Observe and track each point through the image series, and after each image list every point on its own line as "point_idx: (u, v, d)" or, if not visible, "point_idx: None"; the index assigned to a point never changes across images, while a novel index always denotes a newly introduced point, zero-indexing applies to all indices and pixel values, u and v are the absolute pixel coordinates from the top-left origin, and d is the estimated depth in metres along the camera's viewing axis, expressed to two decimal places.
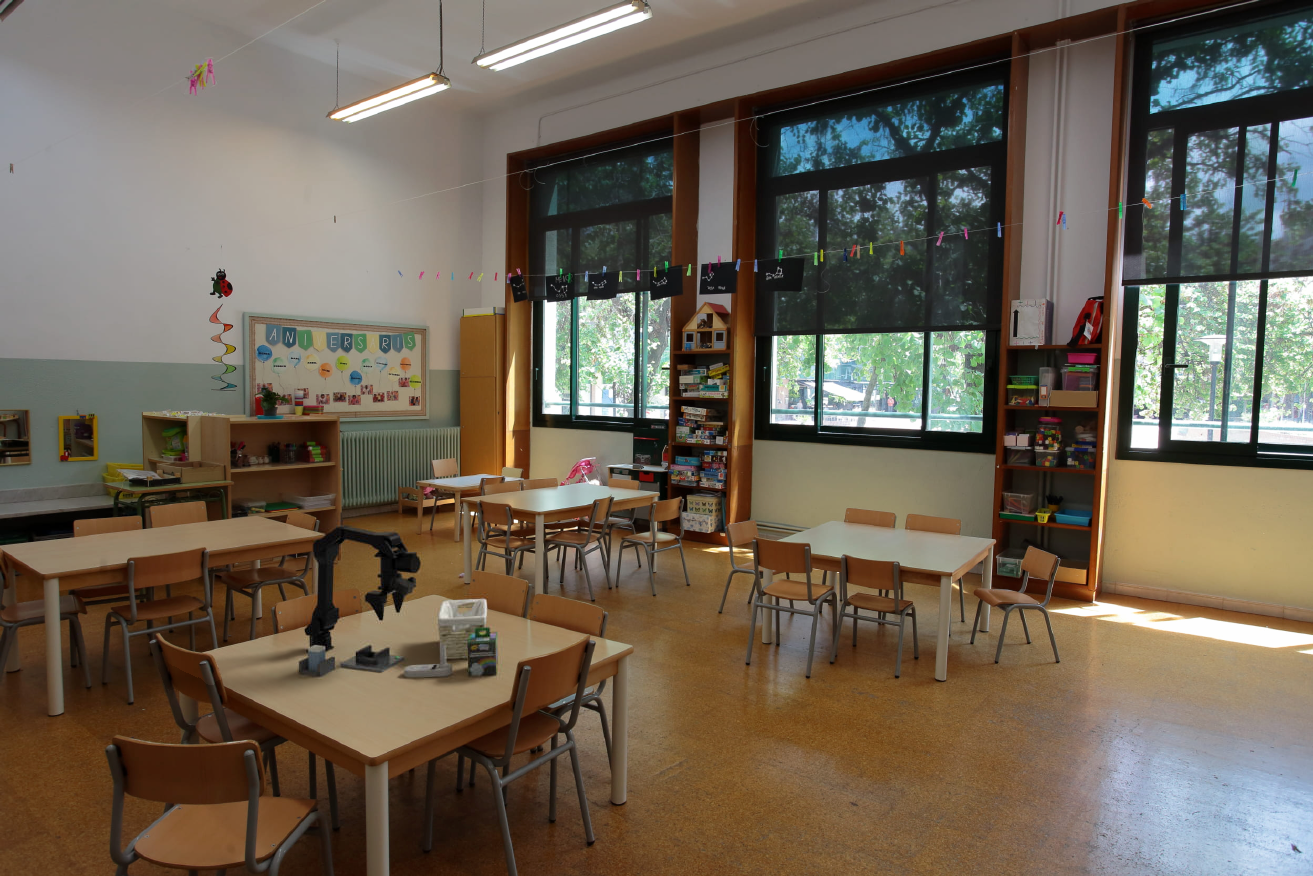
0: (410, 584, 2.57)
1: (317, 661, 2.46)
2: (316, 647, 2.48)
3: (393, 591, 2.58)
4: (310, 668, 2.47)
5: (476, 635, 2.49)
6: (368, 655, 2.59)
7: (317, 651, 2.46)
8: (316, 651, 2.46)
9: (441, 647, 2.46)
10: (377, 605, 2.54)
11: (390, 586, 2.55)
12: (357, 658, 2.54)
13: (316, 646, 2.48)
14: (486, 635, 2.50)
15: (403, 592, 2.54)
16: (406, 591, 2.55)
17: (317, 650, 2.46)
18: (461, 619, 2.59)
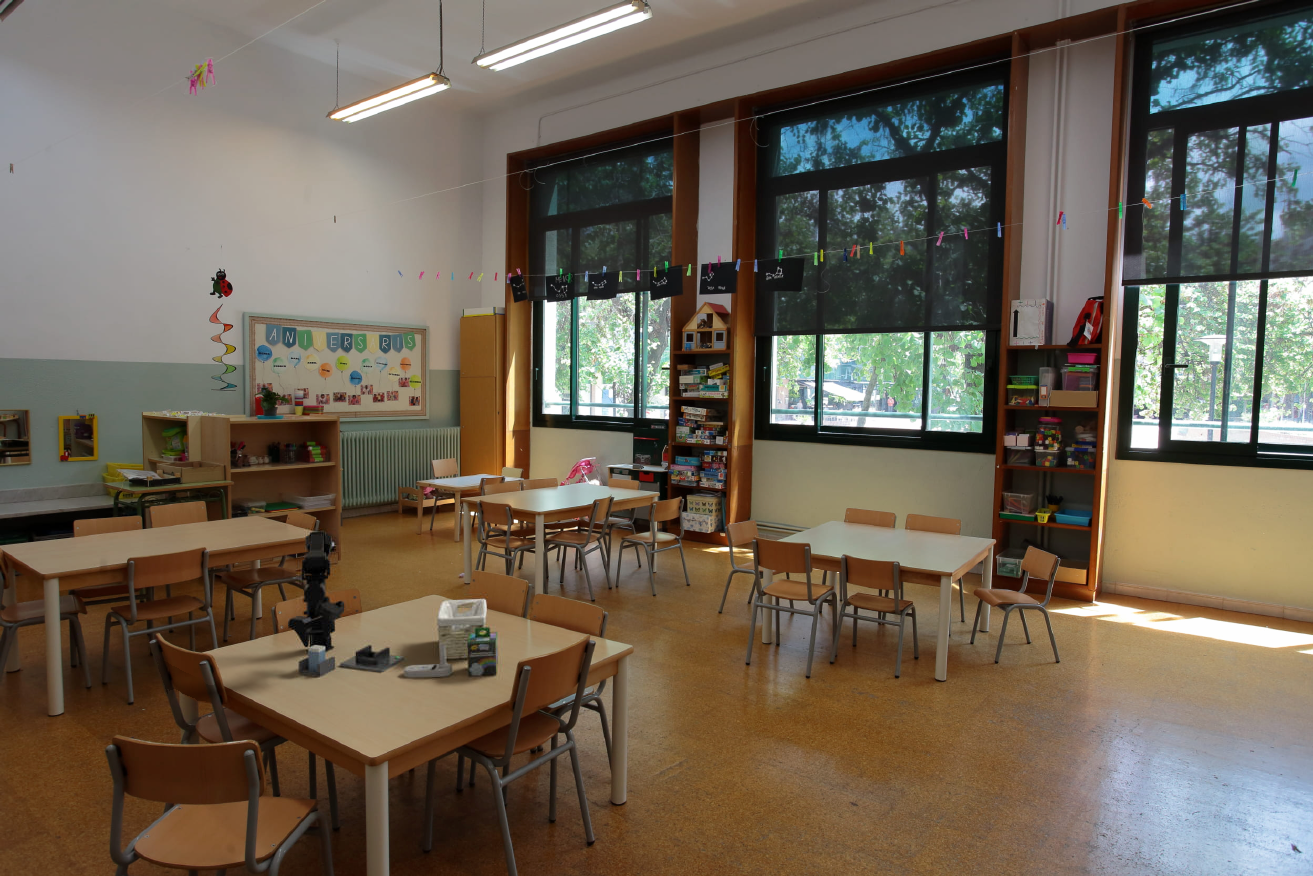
0: (337, 609, 2.45)
1: (317, 661, 2.46)
2: (316, 647, 2.48)
3: (320, 616, 2.46)
4: (310, 668, 2.47)
5: (476, 635, 2.49)
6: (368, 655, 2.59)
7: (317, 651, 2.46)
8: (316, 651, 2.46)
9: (441, 647, 2.46)
10: (302, 631, 2.42)
11: (316, 611, 2.44)
12: (357, 658, 2.54)
13: (316, 646, 2.48)
14: (486, 635, 2.50)
15: (329, 618, 2.43)
16: (332, 616, 2.43)
17: (317, 650, 2.46)
18: (460, 619, 2.59)
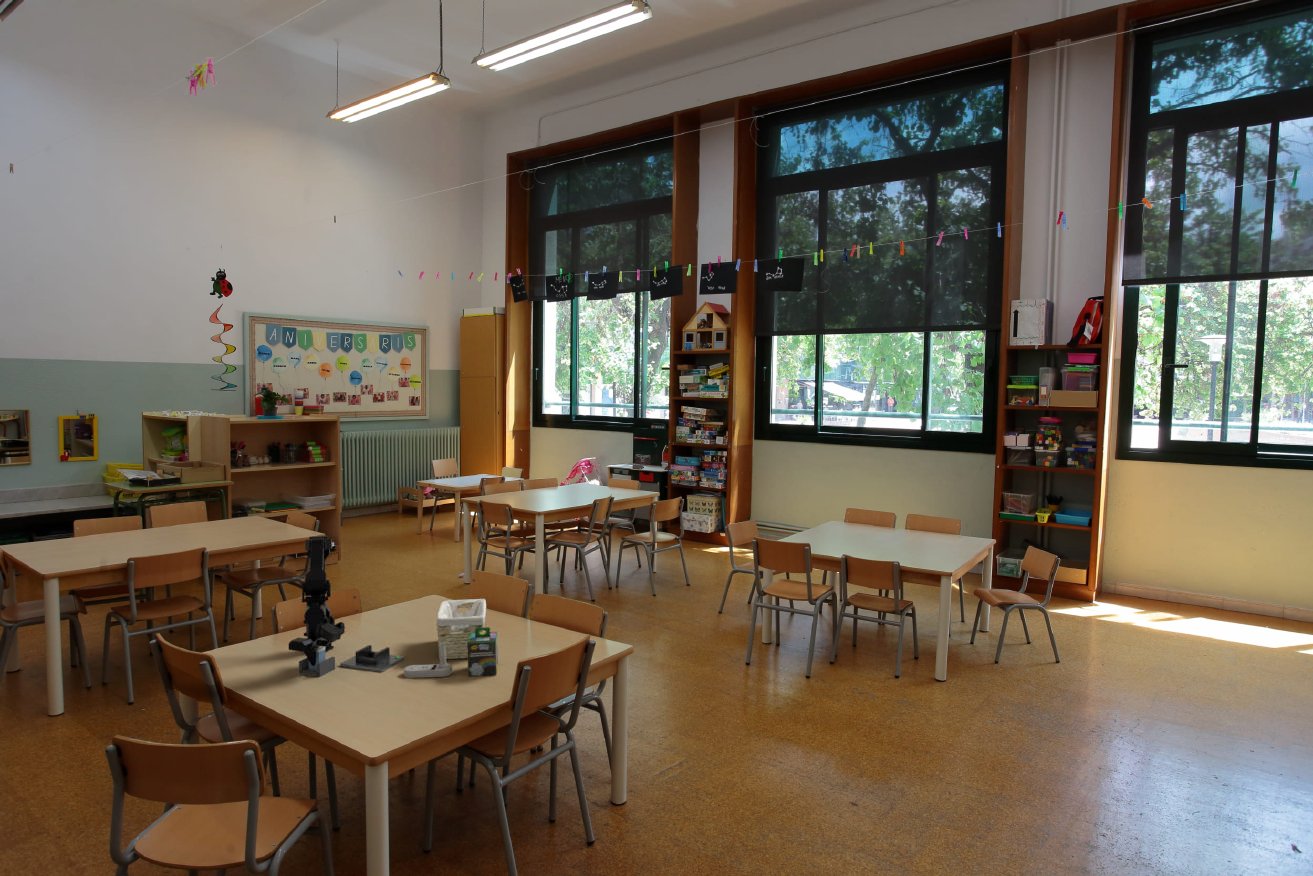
0: (337, 630, 2.46)
1: (317, 661, 2.46)
2: None
3: None
4: (310, 668, 2.47)
5: (476, 635, 2.49)
6: (368, 655, 2.59)
7: (317, 651, 2.46)
8: (316, 651, 2.46)
9: (441, 647, 2.46)
10: (309, 650, 2.45)
11: (316, 633, 2.44)
12: (357, 658, 2.54)
13: None
14: (486, 635, 2.50)
15: (330, 639, 2.43)
16: (333, 638, 2.44)
17: (317, 650, 2.46)
18: (459, 619, 2.59)
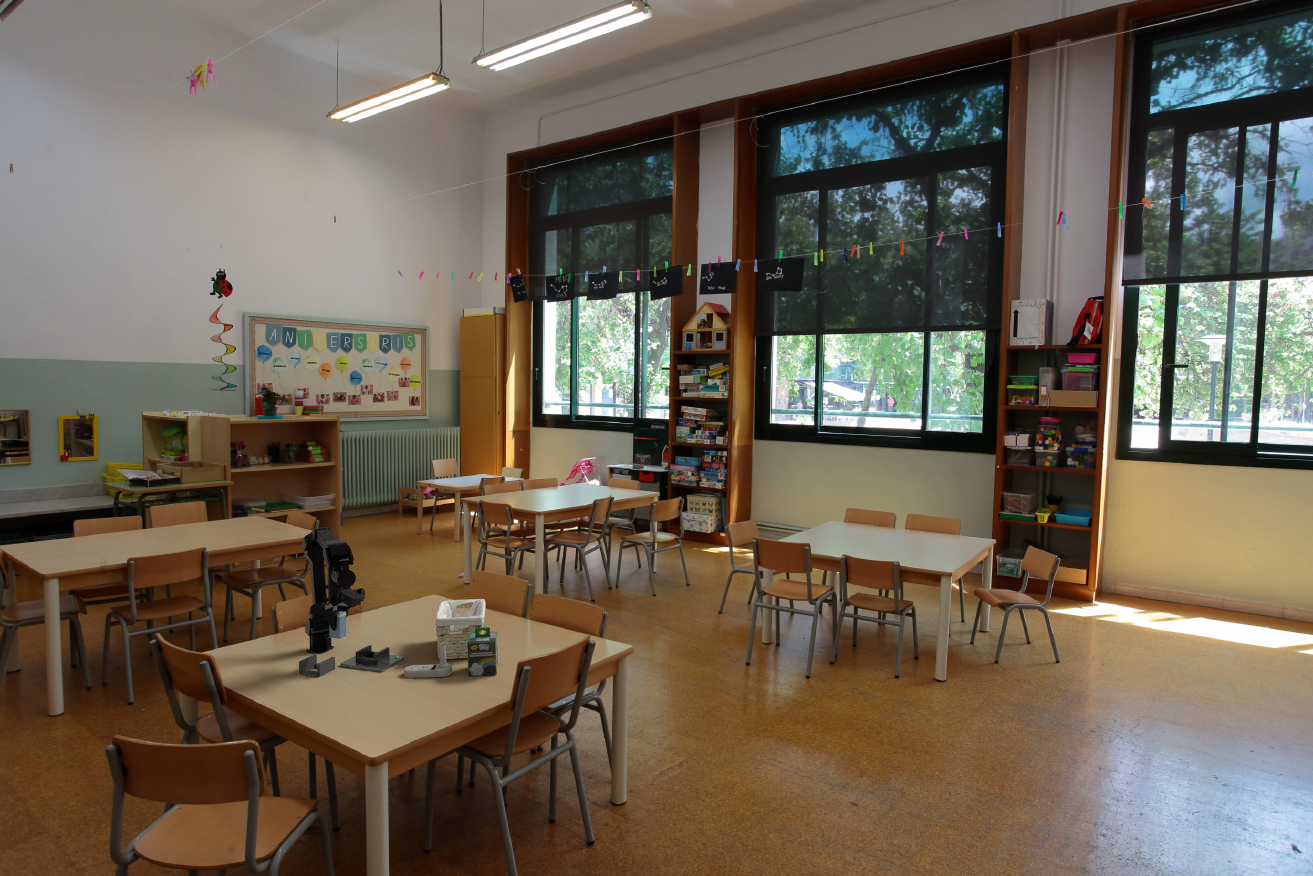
0: (358, 596, 2.48)
1: (338, 626, 2.48)
2: None
3: None
4: (331, 633, 2.49)
5: (476, 635, 2.49)
6: (368, 655, 2.59)
7: (338, 616, 2.48)
8: (337, 616, 2.48)
9: (441, 647, 2.46)
10: (330, 615, 2.48)
11: (337, 598, 2.46)
12: (357, 658, 2.54)
13: None
14: (486, 635, 2.50)
15: (350, 604, 2.45)
16: (353, 603, 2.46)
17: (338, 615, 2.48)
18: (458, 619, 2.59)
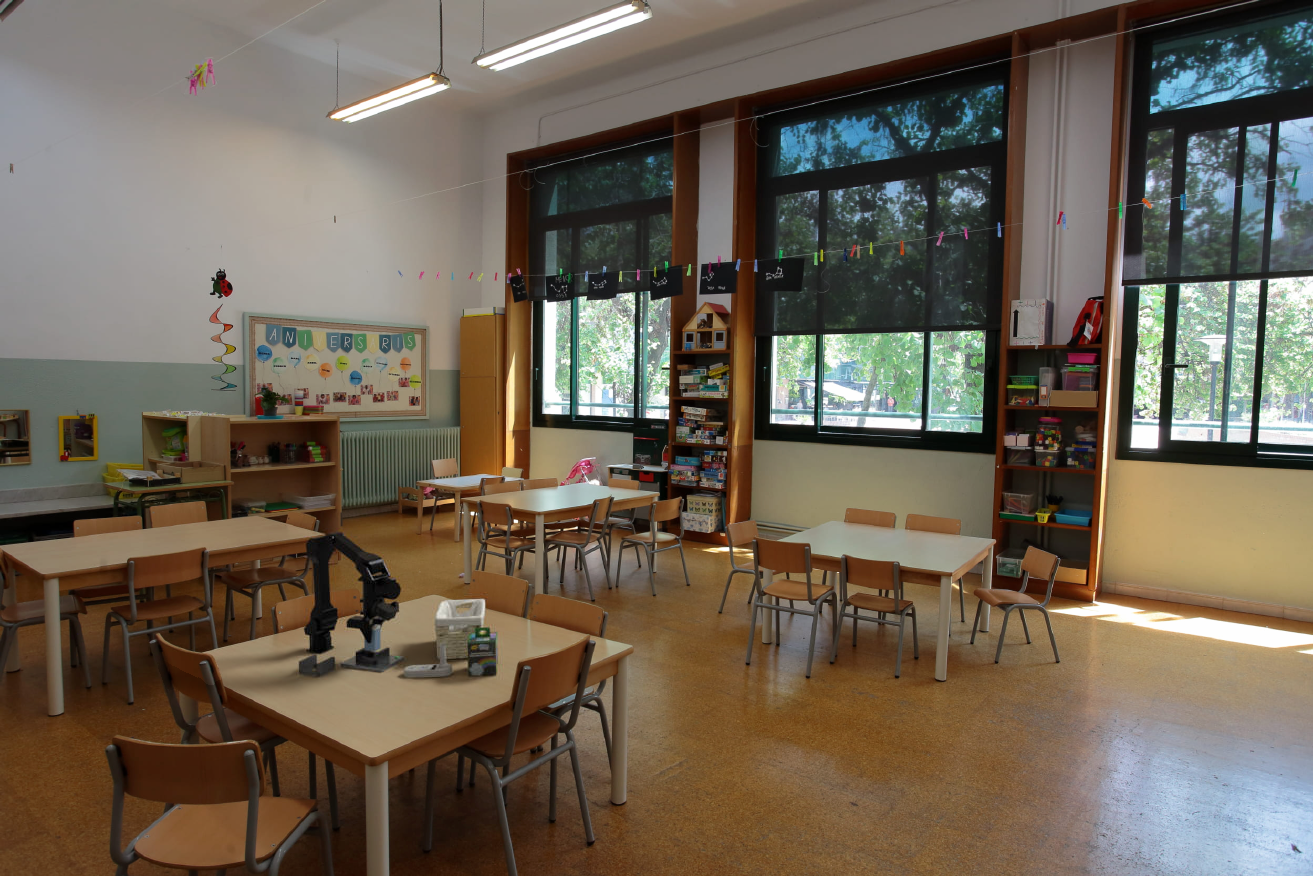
0: (393, 609, 2.54)
1: (373, 639, 2.54)
2: None
3: None
4: (366, 646, 2.55)
5: (476, 635, 2.49)
6: (368, 655, 2.59)
7: (373, 629, 2.54)
8: (372, 629, 2.54)
9: (441, 647, 2.46)
10: (365, 628, 2.53)
11: (372, 611, 2.52)
12: (357, 658, 2.54)
13: None
14: (486, 635, 2.50)
15: (386, 618, 2.51)
16: (389, 616, 2.51)
17: (373, 628, 2.54)
18: (458, 619, 2.59)
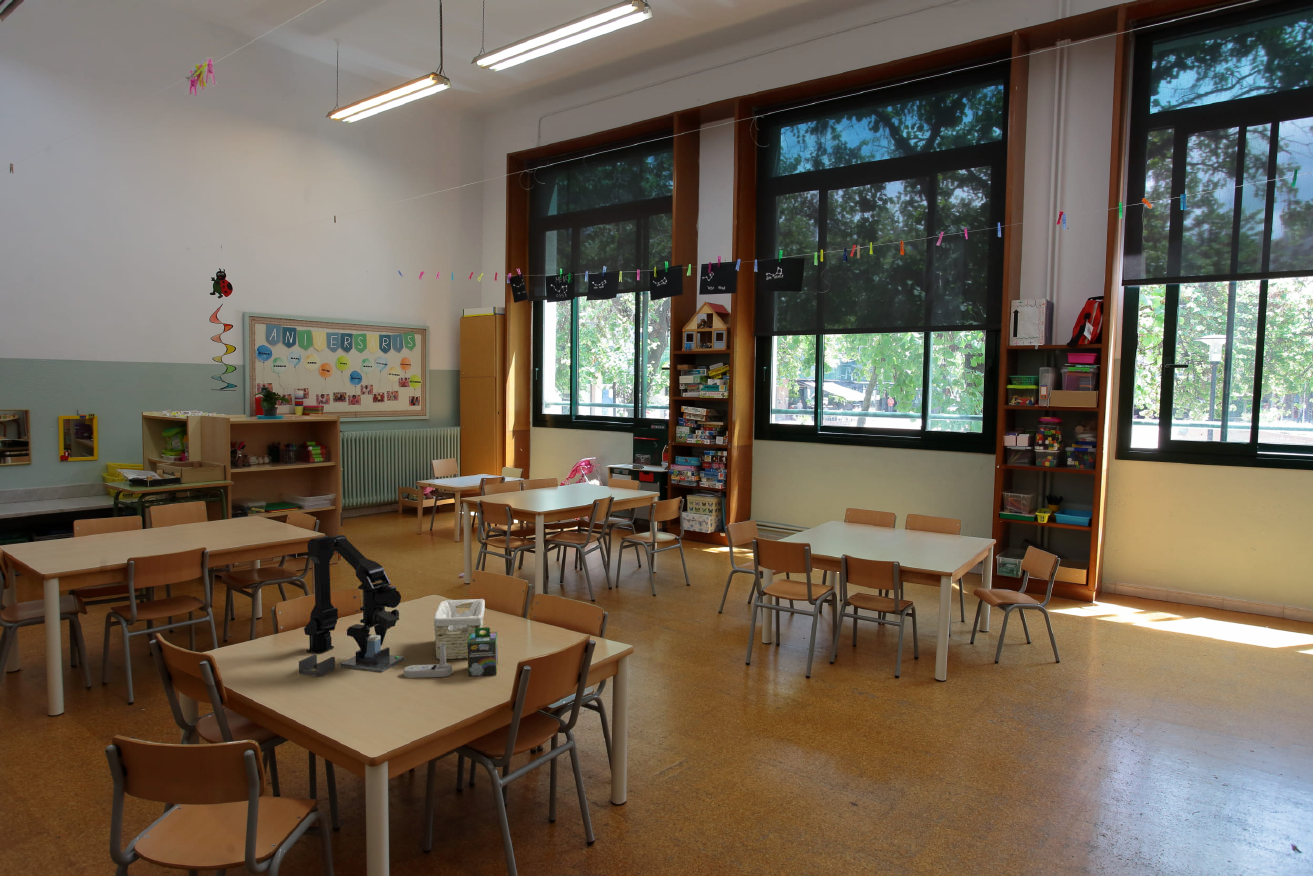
0: (393, 617, 2.54)
1: (373, 650, 2.54)
2: (372, 636, 2.56)
3: (377, 624, 2.55)
4: (366, 657, 2.55)
5: (476, 635, 2.49)
6: None
7: (373, 640, 2.54)
8: (372, 640, 2.54)
9: (441, 647, 2.46)
10: (360, 638, 2.51)
11: (373, 619, 2.52)
12: (357, 658, 2.54)
13: (372, 635, 2.56)
14: (486, 635, 2.50)
15: (386, 626, 2.51)
16: (389, 625, 2.52)
17: (373, 639, 2.54)
18: (457, 619, 2.59)
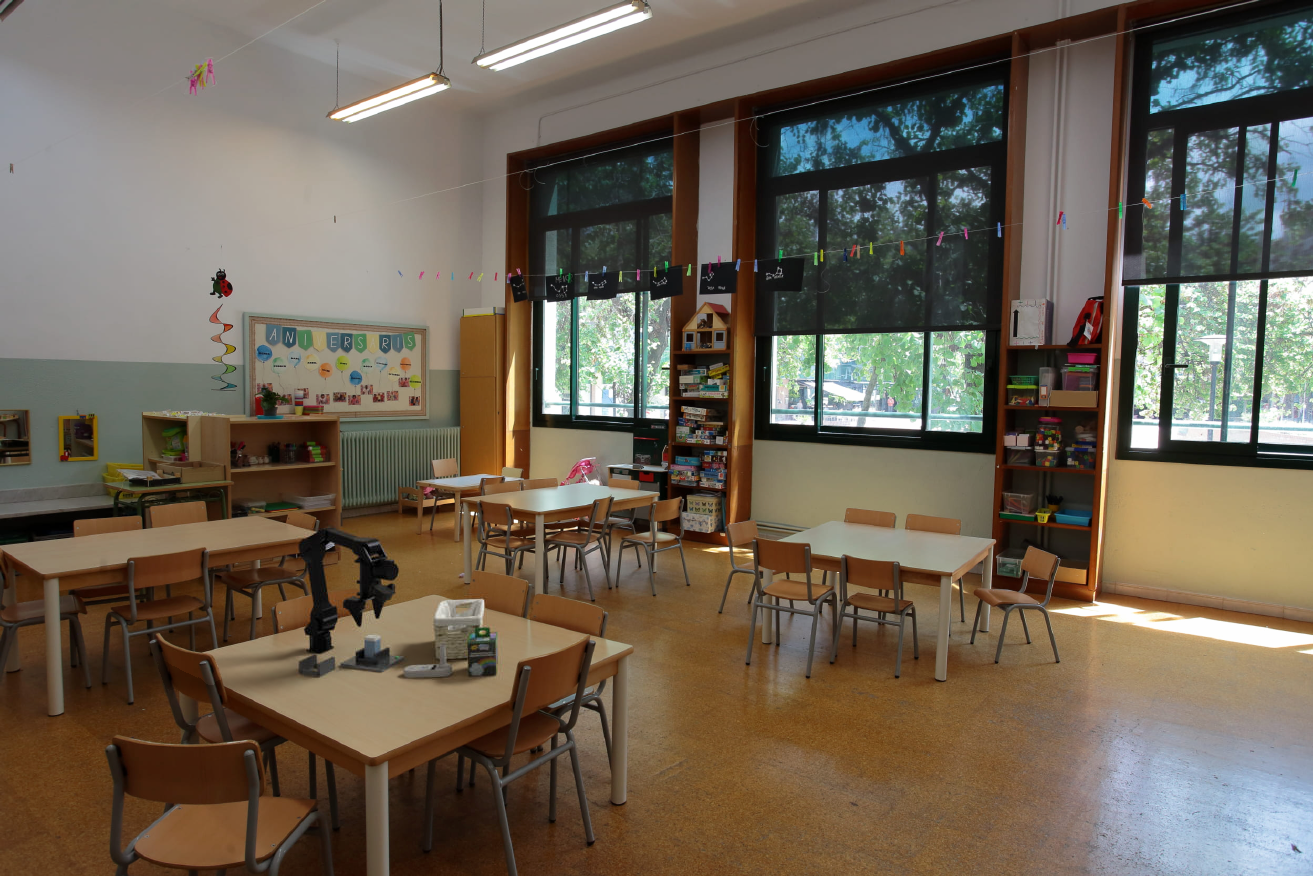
0: (389, 591, 2.56)
1: (373, 650, 2.54)
2: (372, 636, 2.56)
3: (372, 597, 2.57)
4: (366, 657, 2.55)
5: (476, 635, 2.49)
6: None
7: (373, 640, 2.54)
8: (372, 640, 2.54)
9: (441, 647, 2.46)
10: (355, 611, 2.53)
11: (369, 592, 2.55)
12: (357, 658, 2.54)
13: (372, 635, 2.56)
14: (486, 635, 2.50)
15: (382, 599, 2.54)
16: (385, 598, 2.54)
17: (373, 639, 2.54)
18: (456, 619, 2.59)
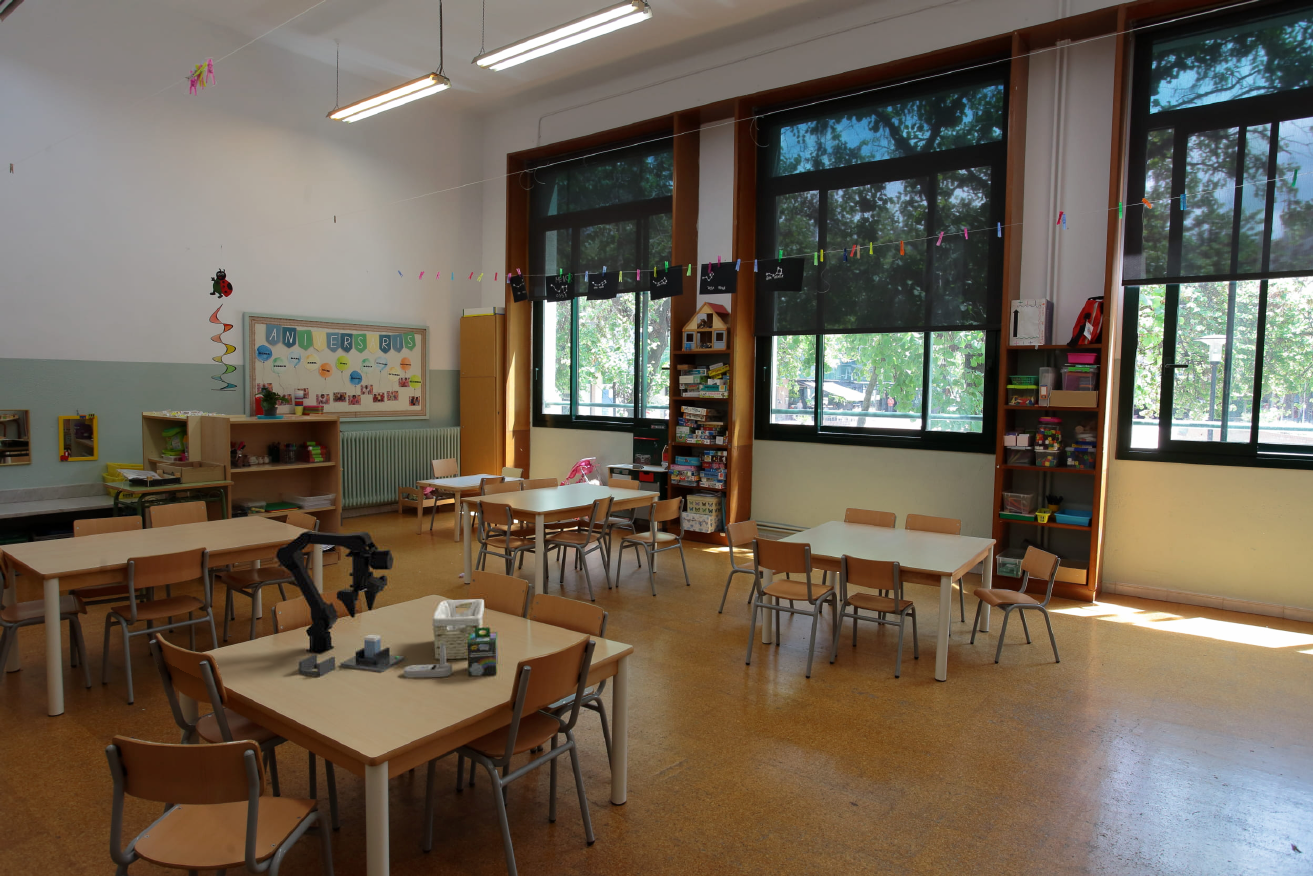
0: (381, 582, 2.65)
1: (373, 650, 2.54)
2: (372, 636, 2.56)
3: (365, 589, 2.66)
4: (366, 657, 2.55)
5: (476, 635, 2.49)
6: None
7: (373, 640, 2.54)
8: (372, 640, 2.54)
9: (441, 647, 2.46)
10: (349, 603, 2.62)
11: (361, 584, 2.63)
12: (357, 658, 2.54)
13: (372, 635, 2.56)
14: (486, 635, 2.50)
15: (374, 590, 2.62)
16: (377, 589, 2.63)
17: (373, 639, 2.54)
18: (455, 619, 2.59)
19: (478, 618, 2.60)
